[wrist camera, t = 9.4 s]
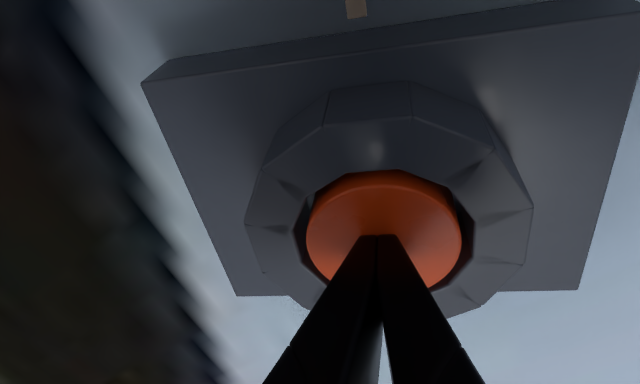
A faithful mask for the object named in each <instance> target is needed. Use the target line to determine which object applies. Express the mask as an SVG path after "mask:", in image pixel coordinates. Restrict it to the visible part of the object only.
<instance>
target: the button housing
mask: <svg viewBox="0 0 640 384" xmlns="http://www.w3.org/2000/svg"><path fill="white" fill-rule="evenodd" d="M639 71H640V2H638V1H636V0H557V1H551V2H544V3H538V4H531V5H525V6H518V7H511V8H505V9H498V10H492V11H485V12H479V13H472V14H466V15H459V16H452V17H446V18H439V19H433V20H426V21H420V22H413V23H407V24H400V25H393V26H387V27H380V28H374V29H367V30H361V31H354V32H348V33H341V34H334V35H328V36H321V37H315V38H308V39H302V40H295V41H289V42H282V43H275V44H269V45H262V46H256V47H249V48H243V49H236V50H230V51H223V52H216V53H210V54H203V55H197V56H190V57H184V58H177V59H171V60H168V61H167V62H166V63H164V64H163V65H162V66H161V67H159V68H158V69H157V70H156V71H154V72H153V73H152V74H151V75H149V76H148V77H147V78H146V79H144V80H143V81H142V82H141V87H142V89H143V91H144V94H145V96H146V98H147V100H148V102H149V105H150V107H151V109H152V111H153V113H154V116H155V118H156V120H157V122H158V124H159V127H160V129H161V131H162V133H163V135H164V137H165V140H166V142H167V144H168V146H169V148H170V151H171V153H172V155H173V157H174V159H175V162H176V164H177V166H178V168H179V170H180V173H181V175H182V177H183V179H184V181H185V184H186V186H187V188H188V190H189V192H190V195H191V197H192V199H193V201H194V203H195V206H196V208H197V210H198V212H199V214H200V217H201V219H202V221H203V223H204V225H205V228H206V230H207V232H208V234H209V236H210V239H211V241H212V243H213V245H214V247H215V250H216V252H217V254H218V256H219V258H220V261H221V263H222V265H223V267H224V269H225V272H226V274H227V276H228V278H229V280H230V283H231V285H232V287H233V289H234V291H235V294H236V296H287V295H289V296H290V297H291V298H292V299H294V300H295V301H296V302H297V303H299V304H300V305H301V306H302V307H304V308H306V309H308V310H312V308H313V307H314V305H315V304H316V302H317V300H318V299H319V297H320V296H321V294H322V293H323V291H324V290H325V288H326V287H327V285H328V284H329V282H330V280H329V279H328V278H326V277H325V276H324V275H323V274H322V273H321V272H320V271H319V270H318V269H317V267H316V266H315V265H314V263H313V261H312V260H311V258H310V255H309V252H308V250H307V245H306V232H307V226H308V222H309V217H310V213H311V208H312V204H313V199H314V195H315V192H316V191H318V190H320V189H321V188H323V187H325V186H326V185H328V184H329V183H331V182H333V181H334V180H336V179H338V178H339V177H341V176H342V175H344V174H346V173H356V172H368V171H380V170H393V169H400V170H403V171H406V172H408V173H411V174H414V175H416V176H419V177H421V178H424V179H427V180H429V181H432V182H435V183H437V184H440V185H443V186H445V187H448V188H449V190H450V191H451V192H452V195H453V200H454V204H455V209H456V213H457V218H458V222H459V227H460V231H461V238H462V245H461V251H460V254H459V257H458V260H457V262H456V263H455V265H454V267H453V268H452V269H451V271H450V272H449V273H448V274H447V275H446V276H445V277H444V278H443V279H441V280H440V281H439V282H438V283H436V284H434V285H433V286H431V287H429V288H428V289H429V291H430V293H431V294H432V296H433V298H434V299H435V301H436V303H437V304H438V306H439V308H440V309H441V311H442V313H443V315H444V316H445V318H446V319H447V318H450V317H453V316H456V315H459V314H462V313H465V312H467V311H470V310H473V309H476V308H479V307H481V305H483V304H485V303H486V302H487V301H488V300H489V299H490V298H491V297H492V296H493V295H494V294H495V293H496V292H502V291H555V290H577V289H578V287H579V284H580V280H581V277H582V273H583V270H584V266H585V262H586V259H587V255H588V252H589V248H590V245H591V241H592V238H593V234H594V231H595V227H596V223H597V220H598V216H599V213H600V209H601V206H602V202H603V199H604V195H605V192H606V188H607V184H608V181H609V177H610V174H611V170H612V167H613V163H614V160H615V156H616V153H617V149H618V146H619V142H620V138H621V135H622V131H623V128H624V124H625V121H626V117H627V114H628V110H629V107H630V103H631V99H632V96H633V92H634V89H635V85H636V82H637V78H638V75H639Z"/></svg>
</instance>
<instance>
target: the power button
mask: <svg viewBox="0 0 640 384" xmlns="http://www.w3.org/2000/svg"><path fill="white" fill-rule="evenodd" d="M381 234H395V235H396V236H397V237H398V238H399V240H400V242H401V243H402V245H403V247H404V249H405V250H406V252H407V254H408V255H409V257H410V259H411V260H412V262H413V264H414V265H415V267H416V269H417V271H418V272H419V274H420V276H421V277H422V279H423V281H424V282H425V284H426V286H427V287H428V288H429V287H431V286H433V285H434V284H436V283H438V282H439V281H440V280H441V279H443V278H444V277H445V276H446V275H447V274H448V273H449V272H450V271H451V269H452V268H453V267H454V265H455V263H456V262H457V260H458V257H459V254H460V251H461V245H462V238H461V231H460V227H459V222H458V218H457V213H456V209H455V204H454V200H453V195H452V192H451V191H450V190H449V188H448V187H445V186H443V185H440V184H437V183H435V182H432V181H429V180H427V179H424V178H421V177H419V176H416V175H414V174H411V173H408V172H406V171H403V170H400V169H393V170H380V171H368V172H356V173H346V174H344V175H342V176H341V177H339V178H338V179H336V180H334V181H333V182H331V183H329V184H328V185H326V186H325V187H323V188H321V189H320V190H318V191H316V192H315V195H314V199H313V204H312V208H311V213H310V217H309V222H308V226H307V232H306V245H307V250H308V252H309V255H310V258H311V260H312V261H313V263H314V265H315V266H316V267H317V269H318V270H319V271H320V272H321V273H322V274H323V275H324V276H325V277H326V278H328V279H329V280H331V279H332V277H333V276H334V274H335V273H336V271H337V270H338V268H339V267H340V265H341V264H342V262H343V260H344V259H345V257H346V256H347V254H348V253H349V251H350V250H351V248H352V247H353V245H354V244H355V242H356V240H357V239H358V237H359V236H361V235H376V236H377V237H378V236H379V235H381Z"/></svg>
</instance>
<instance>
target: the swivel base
mask: <svg viewBox="0 0 640 384" xmlns="http://www.w3.org/2000/svg"><path fill="white" fill-rule="evenodd" d="M345 4H346V11H347V19H355V18H361V17H366V16H367V7H366V0H345Z"/></svg>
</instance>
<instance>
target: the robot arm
mask: <svg viewBox="0 0 640 384" xmlns="http://www.w3.org/2000/svg"><path fill="white" fill-rule="evenodd" d="M383 328H384V335H385V341H386V348H387V354H388V360H389V367H390V373H391V379H392V384H485V382H484V381H483V379H482V377H481V376H480V374H479V373H478V371H477V370H476V368H475V366H474V365H473V363H472V362H471V360H470V358H469V356H468V355H467V353H466V351H465V350H464V348H462V347H461V343H460V342H459V340H458V338H457V337H456V335H455V333H454V331H453V330H452V328H451V326H450V325H449V323H448V321H447V320H446V318H445V316H444V315H443V313H442V311H441V309H440V308H439V306H438V304H437V303H436V301H435V299H434V298H433V296H432V294H431V293H430V291H429V289H428V287H427V286H426V284H425V282H424V281H423V279H422V277H421V276H420V274H419V272H418V271H417V269H416V267H415V265H414V264H413V262H412V260H411V259H410V257H409V255H408V254H407V252H406V250H405V249H404V247H403V245H402V243H401V242H400V240H399V238H398V237H397V236H396V235H395V234H381V235H379V236H378V237H377V236H376V235H361V236H359V237H358V239H357V240H356V242H355V244H354V245H353V247H352V248H351V250H350V251H349V253H348V254H347V256H346V257H345V259H344V260H343V262H342V264H341V265H340V267H339V268H338V270H337V271H336V273H335V274H334V276H333V277H332V279H331V280H330V282H329V284H328V285H327V287H326V288H325V290H324V291H323V293H322V294H321V296H320V297H319V299H318V300H317V302H316V304H315V305H314V307H313V308H312V310H311V311H310V313H309V314H308V316H307V317H306V319H305V320H304V322H303V323H302V325H301V327H300V328H299V330H298V331H297V333H296V334H295V336H294V337H293V339H292V340H291V342H290V346H287V348H286V349H285V351H284V352H283V354H282V356H281V357H280V359H279V360H278V362H277V363H276V365H275V366H274V367H273V369H272V370H271V372H270V373H269V375H268V376H267V378H266V379H265V380H264V382H263V383H262V384H378V377H379V367H380V357H381V347H382V335H383Z"/></svg>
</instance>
